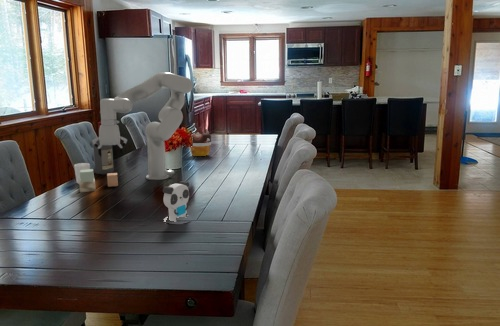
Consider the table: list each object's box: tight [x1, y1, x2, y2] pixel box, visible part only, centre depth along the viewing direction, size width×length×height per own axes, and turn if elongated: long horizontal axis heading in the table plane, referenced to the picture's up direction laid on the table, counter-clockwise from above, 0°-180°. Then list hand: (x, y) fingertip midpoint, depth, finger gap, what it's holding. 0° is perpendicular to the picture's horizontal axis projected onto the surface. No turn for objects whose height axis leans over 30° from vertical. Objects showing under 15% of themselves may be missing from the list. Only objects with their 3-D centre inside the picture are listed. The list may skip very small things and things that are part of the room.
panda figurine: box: [162, 180, 190, 222], centre depth 167 cm, size 12×11×15 cm
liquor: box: [93, 121, 114, 175], centre depth 247 cm, size 9×9×30 cm
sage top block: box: [80, 168, 95, 182], centre depth 211 cm, size 6×6×5 cm
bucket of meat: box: [189, 126, 212, 157], centre depth 304 cm, size 20×16×20 cm
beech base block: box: [78, 177, 96, 193], centre depth 212 cm, size 7×7×5 cm
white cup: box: [73, 162, 91, 185], centre depth 226 cm, size 8×8×10 cm
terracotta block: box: [106, 172, 119, 188], centre depth 221 cm, size 5×5×6 cm
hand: (110, 155), depth 218 cm, fingers open, 9 cm apart
